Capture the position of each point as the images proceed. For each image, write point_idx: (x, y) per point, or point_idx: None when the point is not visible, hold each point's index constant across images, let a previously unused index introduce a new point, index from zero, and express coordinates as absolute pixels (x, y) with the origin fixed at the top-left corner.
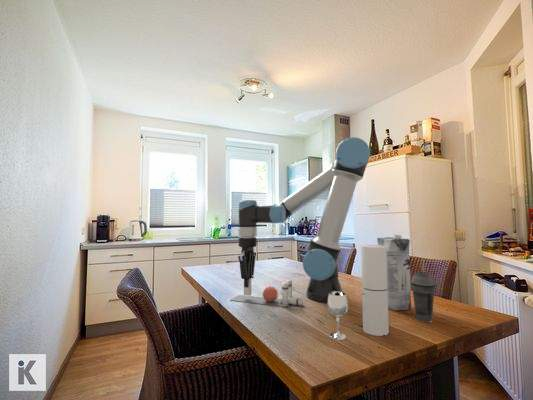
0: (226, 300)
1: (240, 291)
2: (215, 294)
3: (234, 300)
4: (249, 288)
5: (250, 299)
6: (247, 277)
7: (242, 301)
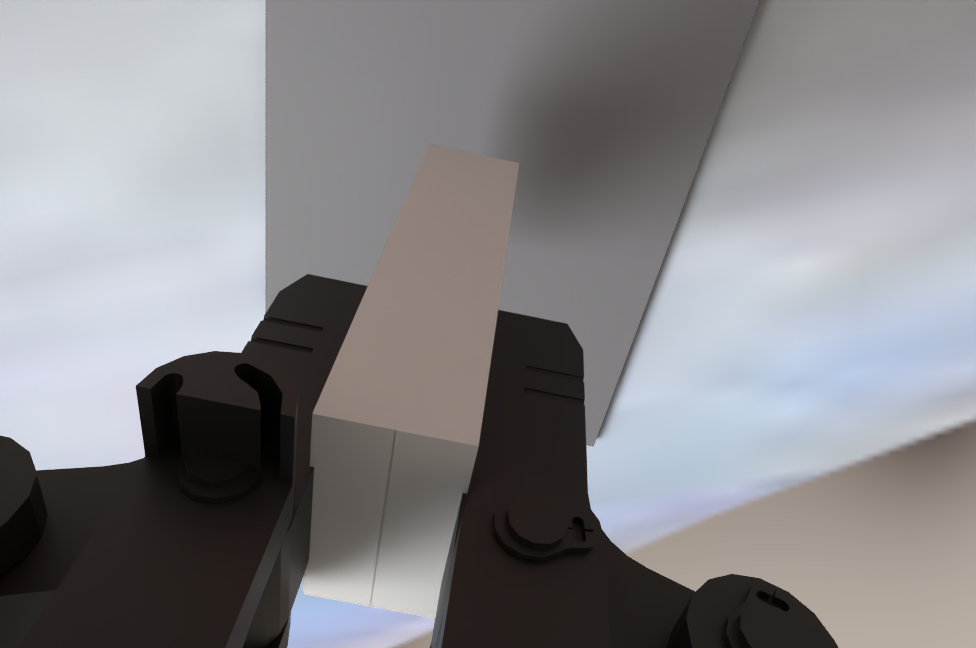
0: (588, 482)
1: (39, 394)
2: (338, 630)
3: (609, 384)
4: (504, 255)
5: (503, 116)
6: (775, 620)
7: (665, 246)
